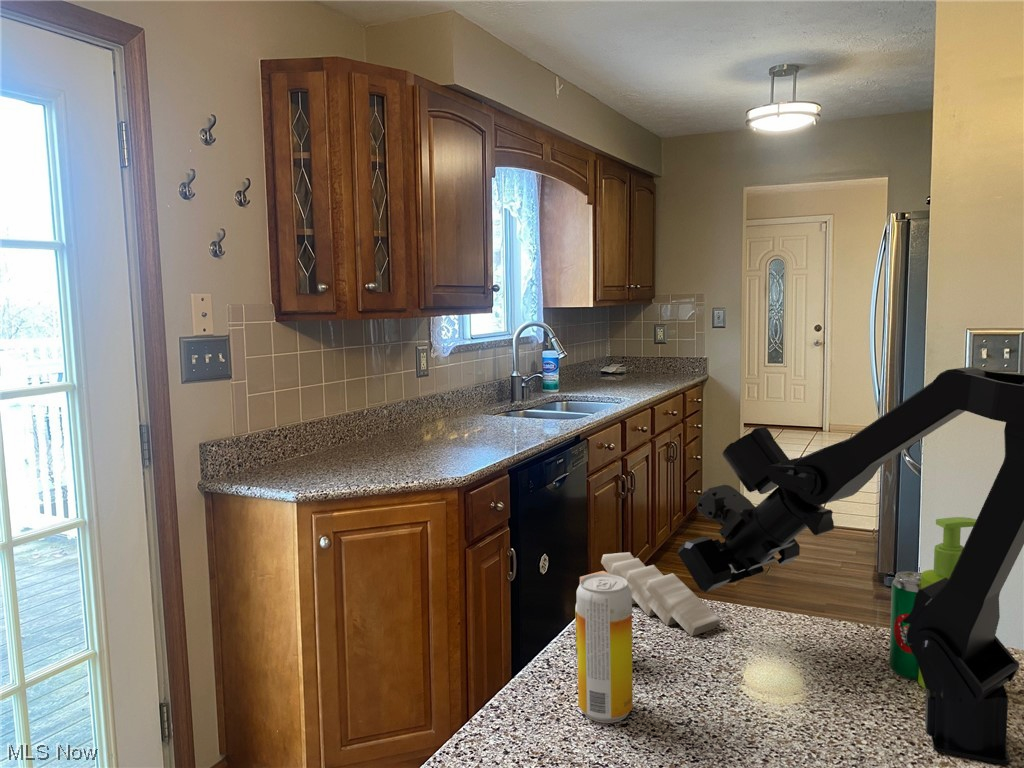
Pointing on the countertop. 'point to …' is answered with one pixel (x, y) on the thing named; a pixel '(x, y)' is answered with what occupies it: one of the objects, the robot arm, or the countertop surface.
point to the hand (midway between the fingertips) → (705, 582)
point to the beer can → (604, 647)
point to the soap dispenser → (945, 555)
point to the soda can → (903, 624)
